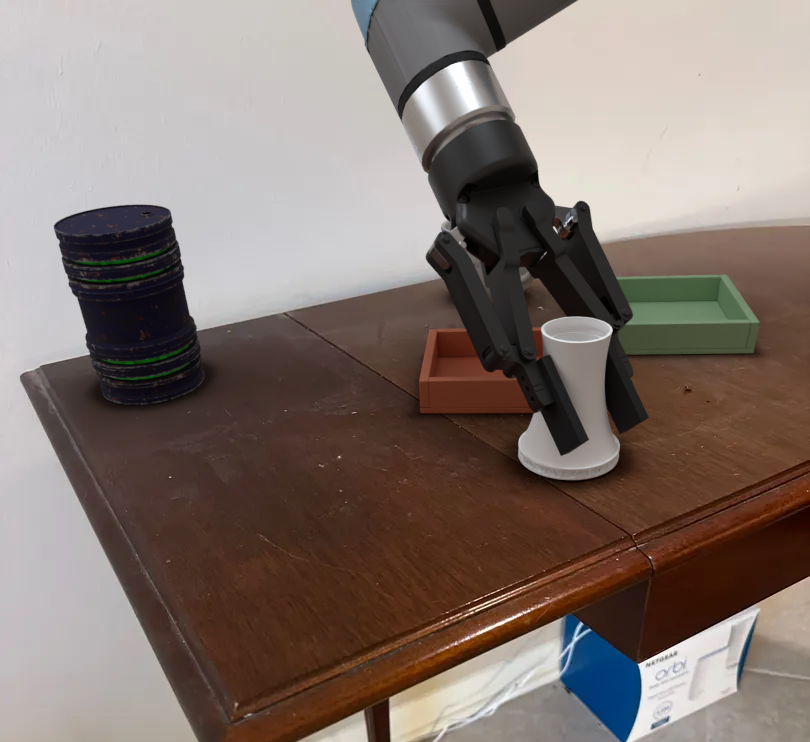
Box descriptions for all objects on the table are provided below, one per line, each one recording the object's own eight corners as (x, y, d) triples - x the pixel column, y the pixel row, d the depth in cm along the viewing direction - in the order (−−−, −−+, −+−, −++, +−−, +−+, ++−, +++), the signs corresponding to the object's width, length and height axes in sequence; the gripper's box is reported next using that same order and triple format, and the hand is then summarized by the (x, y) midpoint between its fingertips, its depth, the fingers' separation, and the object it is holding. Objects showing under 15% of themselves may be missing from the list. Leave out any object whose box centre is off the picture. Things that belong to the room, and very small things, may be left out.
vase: (597, 426, 65) (608, 304, 60) (634, 473, 59) (650, 342, 53) (506, 438, 65) (509, 316, 59) (534, 487, 59) (539, 356, 53)
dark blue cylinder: (111, 415, 72) (60, 242, 63) (91, 376, 79) (43, 216, 70) (219, 388, 75) (185, 220, 67) (191, 353, 83) (157, 198, 74)
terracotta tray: (552, 357, 77) (553, 326, 75) (558, 413, 68) (560, 379, 66) (430, 358, 78) (429, 328, 77) (420, 413, 69) (418, 380, 67)
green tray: (722, 302, 86) (727, 274, 85) (753, 353, 75) (760, 322, 74) (582, 305, 88) (584, 277, 86) (593, 355, 77) (596, 324, 75)
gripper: (543, 165, 66) (665, 421, 64) (350, 203, 60) (479, 491, 57) (592, 97, 60) (730, 382, 57) (380, 132, 53) (528, 456, 50)
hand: (604, 436), depth 57 cm, fingers closed on vase, 5 cm apart
